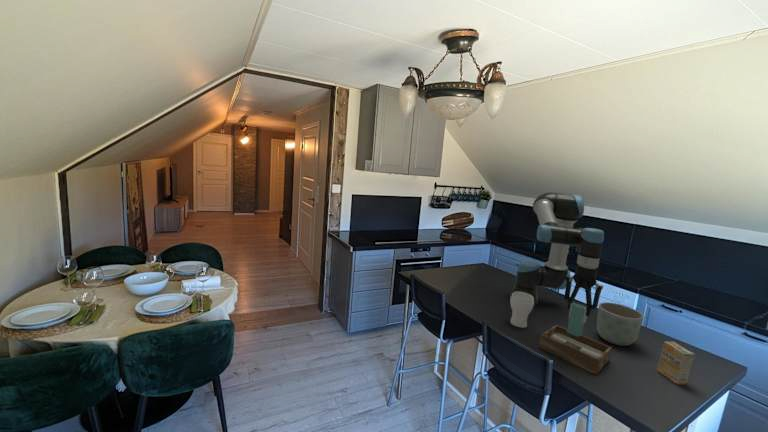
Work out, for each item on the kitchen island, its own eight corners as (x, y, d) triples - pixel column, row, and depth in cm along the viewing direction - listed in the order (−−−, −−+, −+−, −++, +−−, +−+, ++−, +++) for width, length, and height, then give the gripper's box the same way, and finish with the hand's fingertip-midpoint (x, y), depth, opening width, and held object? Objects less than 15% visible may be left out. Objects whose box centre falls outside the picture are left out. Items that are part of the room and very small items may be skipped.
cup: (532, 330, 155) (537, 301, 153) (509, 327, 157) (513, 297, 155) (527, 320, 166) (531, 292, 163) (505, 317, 168) (509, 289, 165)
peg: (570, 329, 140) (575, 303, 138) (582, 334, 136) (587, 307, 135) (566, 332, 137) (571, 305, 135) (578, 336, 134) (583, 309, 132)
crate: (554, 336, 151) (556, 324, 150) (609, 360, 135) (611, 347, 134) (538, 347, 141) (540, 334, 140) (596, 374, 125) (598, 360, 124)
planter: (628, 336, 158) (635, 306, 155) (643, 354, 142) (650, 322, 139) (588, 328, 163) (594, 299, 160) (598, 345, 147) (605, 313, 144)
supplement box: (655, 370, 130) (663, 340, 128) (666, 371, 131) (674, 341, 129) (675, 385, 122) (683, 353, 120) (687, 385, 123) (695, 353, 121)
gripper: (560, 261, 136) (551, 313, 140) (608, 274, 123) (597, 331, 127) (567, 259, 141) (558, 309, 145) (614, 271, 128) (603, 326, 132)
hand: (577, 319), depth 136 cm, fingers closed on peg, 4 cm apart
